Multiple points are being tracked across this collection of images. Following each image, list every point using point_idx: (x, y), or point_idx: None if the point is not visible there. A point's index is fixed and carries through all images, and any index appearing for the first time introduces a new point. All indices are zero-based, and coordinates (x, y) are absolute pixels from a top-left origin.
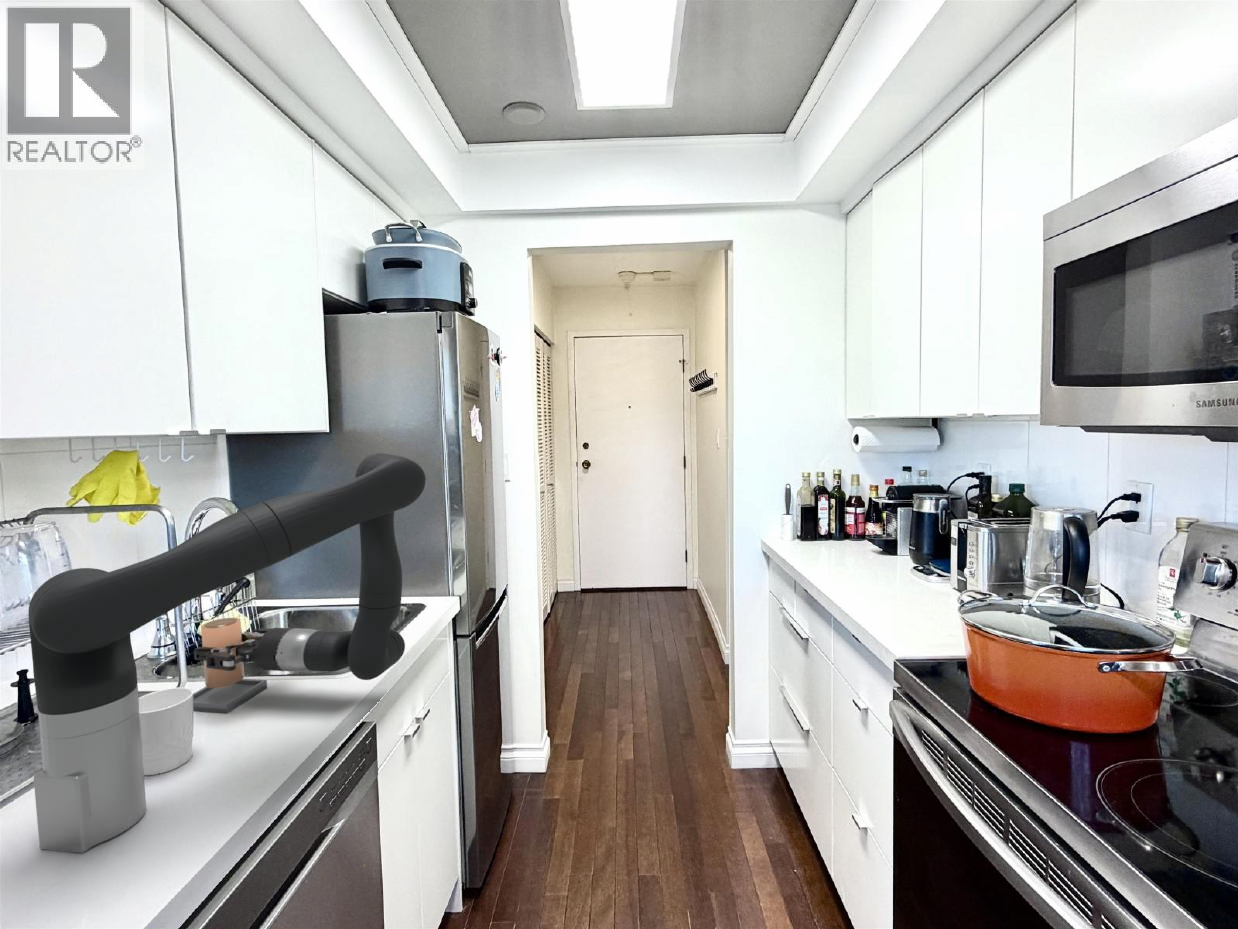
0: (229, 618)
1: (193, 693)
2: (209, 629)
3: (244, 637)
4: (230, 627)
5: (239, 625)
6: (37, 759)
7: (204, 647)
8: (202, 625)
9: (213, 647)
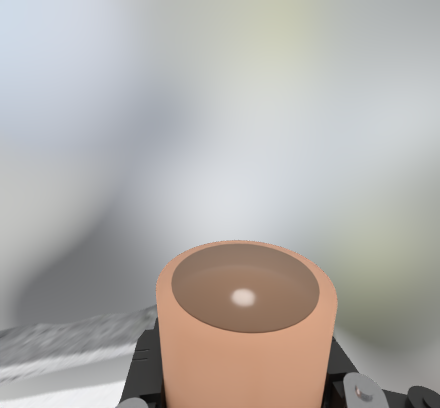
0: (301, 264)
1: None
2: (157, 288)
3: (341, 402)
4: (223, 359)
5: (307, 362)
6: (11, 336)
7: None
8: (204, 245)
9: (164, 380)
